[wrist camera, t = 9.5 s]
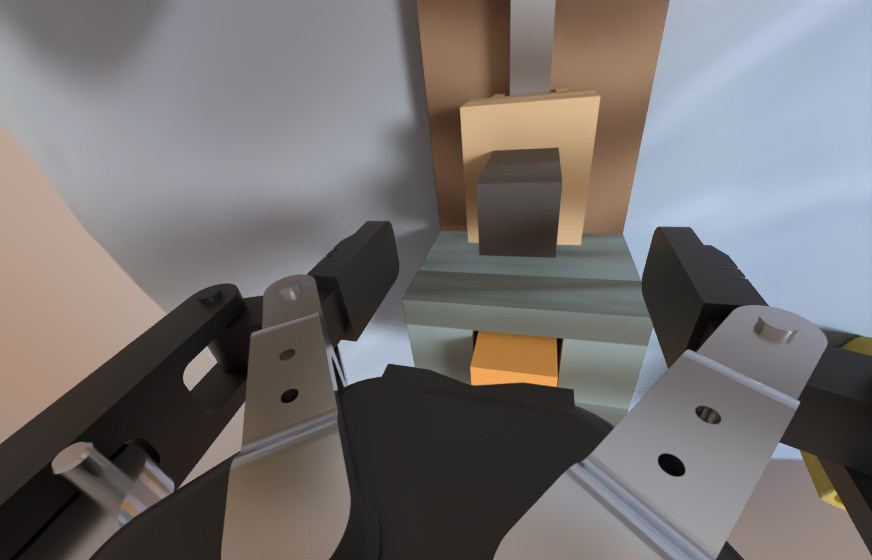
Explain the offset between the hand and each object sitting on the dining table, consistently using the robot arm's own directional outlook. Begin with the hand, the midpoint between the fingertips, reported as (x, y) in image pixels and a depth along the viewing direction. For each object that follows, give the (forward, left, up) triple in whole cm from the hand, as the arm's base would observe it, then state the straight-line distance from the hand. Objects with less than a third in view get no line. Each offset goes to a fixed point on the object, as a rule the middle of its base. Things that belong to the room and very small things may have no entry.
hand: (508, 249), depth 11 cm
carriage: (0, 0, -12) cm, 12 cm away
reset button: (+9, 0, -5) cm, 10 cm away
